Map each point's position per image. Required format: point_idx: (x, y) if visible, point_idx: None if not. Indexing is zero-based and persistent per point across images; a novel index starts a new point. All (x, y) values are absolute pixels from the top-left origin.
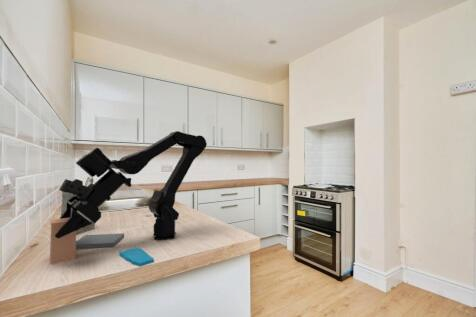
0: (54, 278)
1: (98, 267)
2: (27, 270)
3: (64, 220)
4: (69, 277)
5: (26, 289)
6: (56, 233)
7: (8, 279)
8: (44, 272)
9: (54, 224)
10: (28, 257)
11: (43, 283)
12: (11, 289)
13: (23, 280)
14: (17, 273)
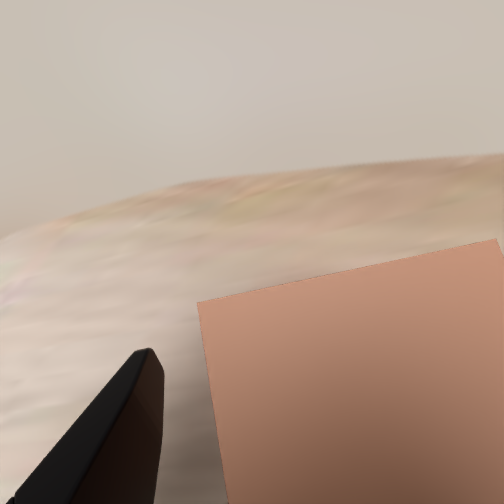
0: (51, 367)
1: None
2: (216, 240)
3: (346, 453)
4: (21, 430)
5: (10, 287)
6: (132, 364)
7: (151, 201)
8: (149, 314)
9: (205, 330)
10: (414, 196)
11: (27, 334)
12: (45, 239)
13: (106, 255)
14: (201, 213)
